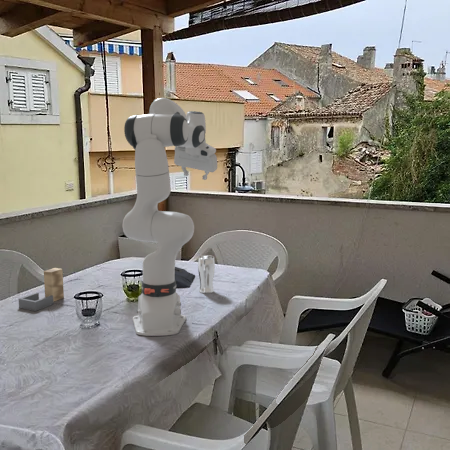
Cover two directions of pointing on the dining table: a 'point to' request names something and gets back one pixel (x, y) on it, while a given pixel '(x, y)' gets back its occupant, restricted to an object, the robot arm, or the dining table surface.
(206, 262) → the beer glass
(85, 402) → the dining table surface
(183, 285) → the dark slate chunk
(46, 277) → the tan rectangular block
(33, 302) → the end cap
